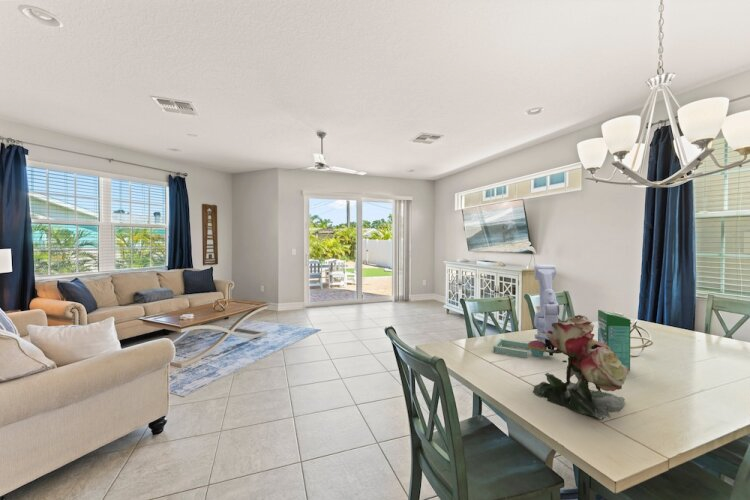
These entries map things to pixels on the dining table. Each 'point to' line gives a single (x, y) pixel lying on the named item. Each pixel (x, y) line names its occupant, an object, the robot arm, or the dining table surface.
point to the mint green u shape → (511, 351)
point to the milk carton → (615, 334)
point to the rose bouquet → (583, 370)
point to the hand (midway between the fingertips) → (551, 355)
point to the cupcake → (537, 347)
